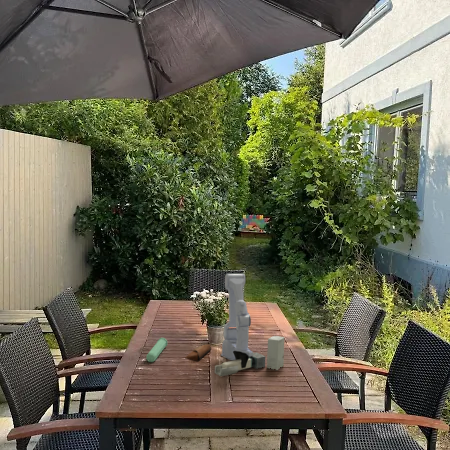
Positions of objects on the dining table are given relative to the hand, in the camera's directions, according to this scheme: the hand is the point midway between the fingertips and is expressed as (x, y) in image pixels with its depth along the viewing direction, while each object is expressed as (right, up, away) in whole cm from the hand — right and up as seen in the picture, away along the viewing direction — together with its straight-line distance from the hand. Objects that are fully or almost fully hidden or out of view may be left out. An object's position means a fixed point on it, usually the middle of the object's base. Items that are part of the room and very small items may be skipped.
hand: (241, 366), depth 236 cm
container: (-44, +1, +17) cm, 47 cm away
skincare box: (+17, -2, +5) cm, 18 cm away
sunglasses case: (-22, 0, +19) cm, 29 cm away
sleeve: (-7, -2, -5) cm, 9 cm away
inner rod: (-2, -1, -2) cm, 3 cm away
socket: (+8, -1, +6) cm, 10 cm away
